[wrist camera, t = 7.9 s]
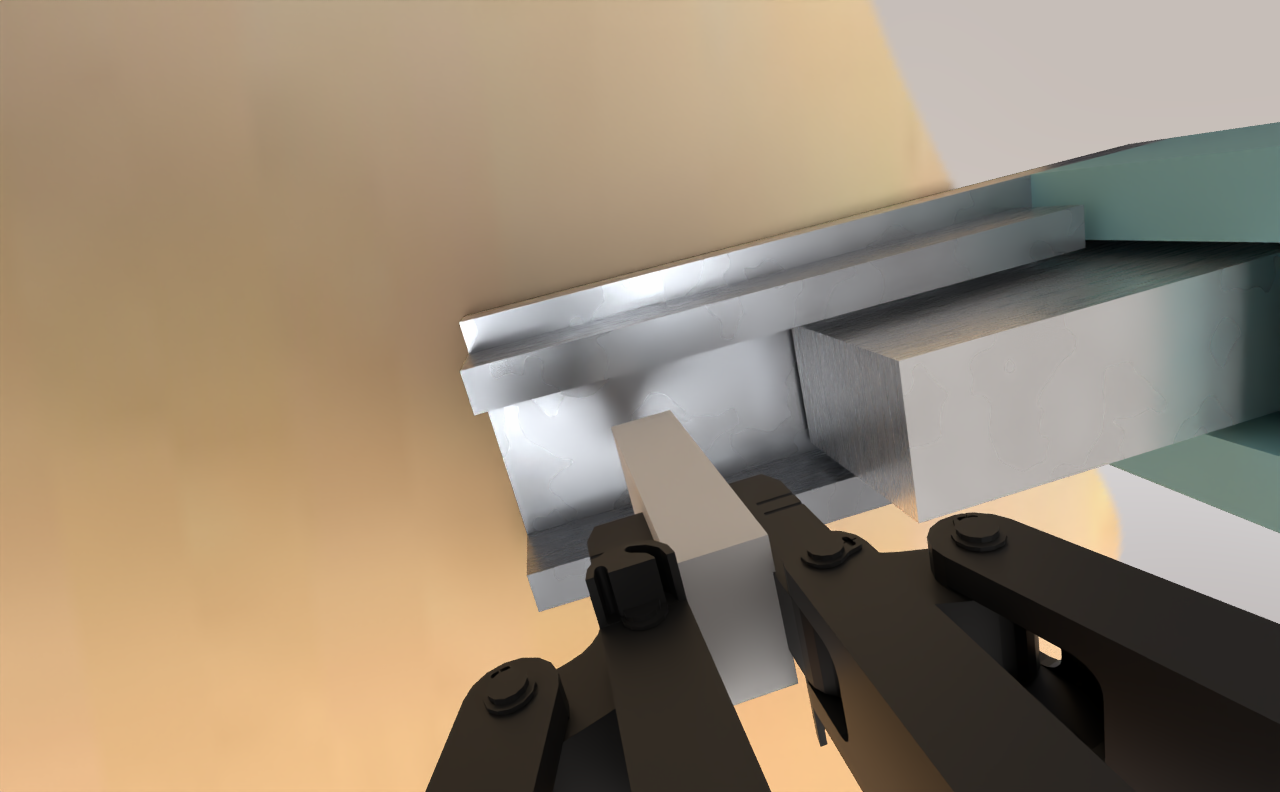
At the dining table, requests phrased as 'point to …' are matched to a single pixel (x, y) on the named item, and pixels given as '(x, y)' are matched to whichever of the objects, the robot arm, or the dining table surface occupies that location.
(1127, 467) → the socket housing
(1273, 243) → the sliding block
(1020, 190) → the guide channel
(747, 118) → the dining table surface
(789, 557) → the robot arm
